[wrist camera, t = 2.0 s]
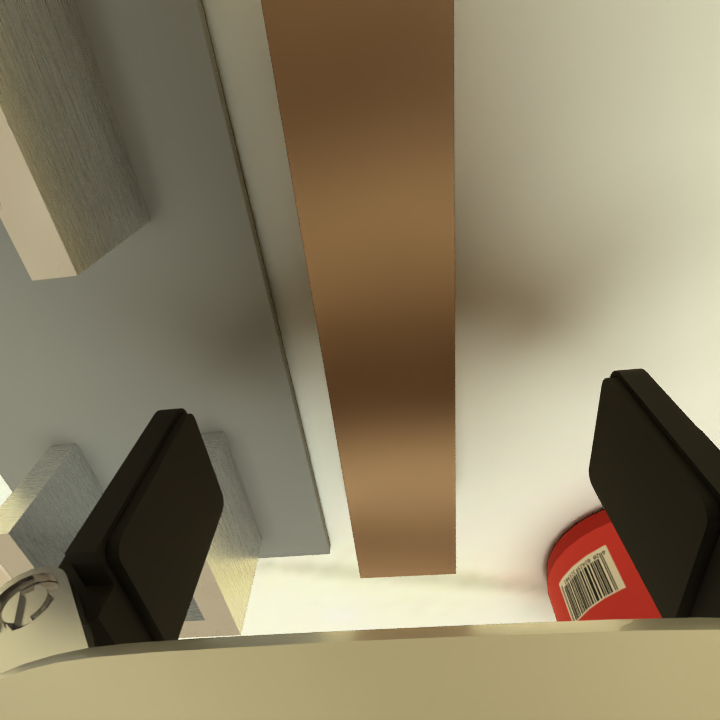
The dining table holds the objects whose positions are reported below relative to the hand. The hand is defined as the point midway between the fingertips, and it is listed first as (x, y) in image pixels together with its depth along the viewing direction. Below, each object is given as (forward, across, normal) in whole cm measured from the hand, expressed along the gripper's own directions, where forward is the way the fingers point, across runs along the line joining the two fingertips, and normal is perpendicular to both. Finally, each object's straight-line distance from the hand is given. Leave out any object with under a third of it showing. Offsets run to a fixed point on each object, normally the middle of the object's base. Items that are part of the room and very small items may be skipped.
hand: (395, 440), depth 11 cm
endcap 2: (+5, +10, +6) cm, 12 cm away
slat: (+5, 0, -1) cm, 5 cm away
